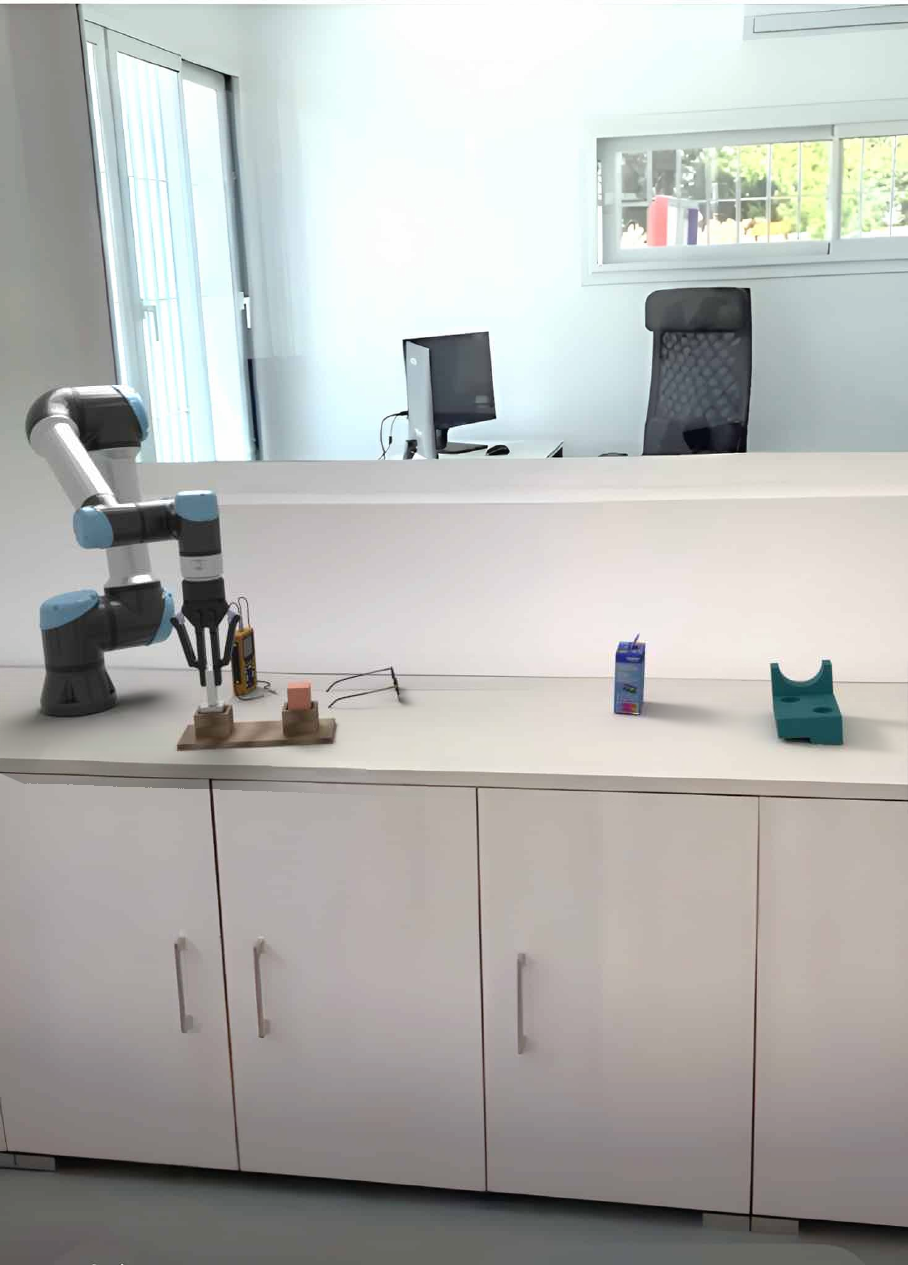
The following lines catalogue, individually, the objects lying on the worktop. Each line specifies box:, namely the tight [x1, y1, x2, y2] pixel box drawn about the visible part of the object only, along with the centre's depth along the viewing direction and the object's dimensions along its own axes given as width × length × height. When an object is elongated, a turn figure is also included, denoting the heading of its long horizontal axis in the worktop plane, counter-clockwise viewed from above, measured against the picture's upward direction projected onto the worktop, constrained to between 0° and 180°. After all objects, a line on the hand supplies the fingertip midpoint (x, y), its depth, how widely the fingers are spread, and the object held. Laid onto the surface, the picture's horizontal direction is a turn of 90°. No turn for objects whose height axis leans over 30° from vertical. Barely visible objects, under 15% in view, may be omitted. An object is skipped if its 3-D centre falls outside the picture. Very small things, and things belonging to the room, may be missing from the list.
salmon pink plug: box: [286, 681, 312, 710], centre depth 215 cm, size 4×4×5 cm
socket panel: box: [176, 699, 336, 751], centre depth 216 cm, size 28×12×6 cm, turn 93°
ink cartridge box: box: [613, 633, 646, 714], centre depth 225 cm, size 10×6×14 cm, turn 167°
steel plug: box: [200, 700, 226, 714], centre depth 215 cm, size 4×4×5 cm
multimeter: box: [227, 596, 280, 701], centre depth 244 cm, size 15×10×20 cm
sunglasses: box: [325, 666, 400, 708], centre depth 239 cm, size 14×15×5 cm
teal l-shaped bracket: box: [769, 659, 844, 745], centre depth 210 cm, size 18×11×10 cm, turn 168°
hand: (213, 702), depth 214 cm, fingers closed
